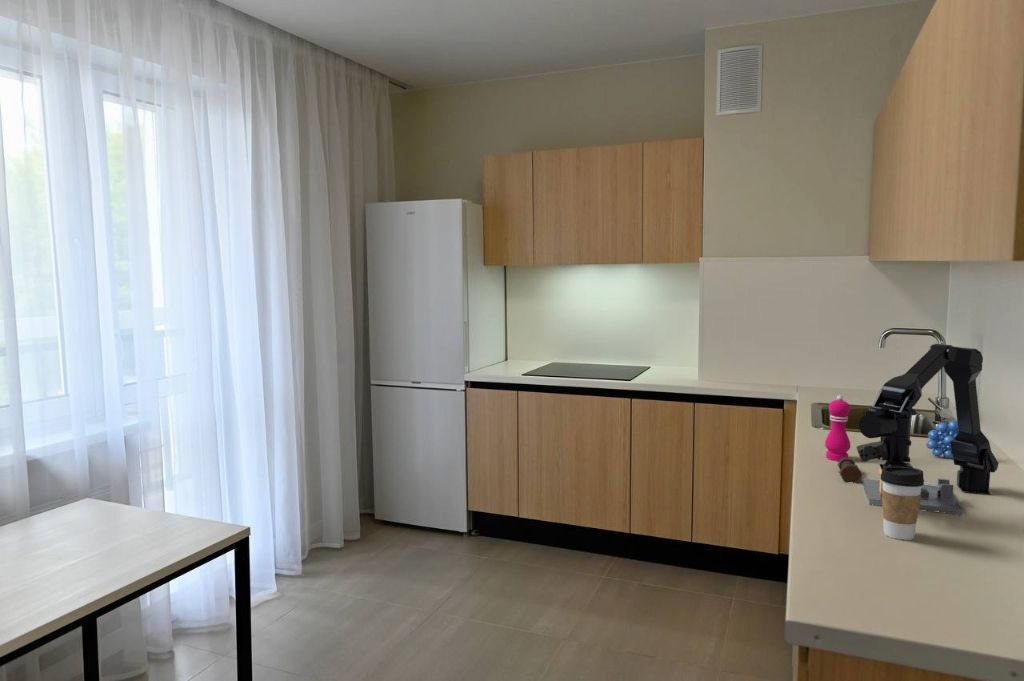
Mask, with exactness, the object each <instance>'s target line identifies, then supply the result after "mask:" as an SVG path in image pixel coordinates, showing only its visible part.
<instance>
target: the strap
mask: <svg viewBox="0 0 1024 681" xmlns="http://www.w3.org/2000/svg"><path fill="white" fill-rule="evenodd" d="M941 485H942V484H939V483H938V482H931V481H925V480H924V485H922V487H921V488H925V489H932V490H939V491H941Z"/></svg>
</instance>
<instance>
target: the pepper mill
mask: <svg viewBox="0 0 1024 681" xmlns="http://www.w3.org/2000/svg"><path fill="white" fill-rule="evenodd" d="M828 411H829V414H830V415H829V420H830V421H831V427H830V431H829V433H828V434H827V436H826V438H825V442H824V447H825V448H826V449H827V451H826V452H825V458H826V459H827V458H828V459H827V460H830V459H832V460H831V461H834V460H837V461H836V462H839V461H840V460H841V458H844V457H846V458H849V453H847V452H848V451H849V450H850V449H851V441H850V437H849V436H848V433H847V429H846V427H847V426H846V425H847V422H848V421H849V420H848V419H849V416H848V414H849V413H850V411H851V406H850V404H849V403H848V402H847V401H845V400H844V396H843V395H841V394H840V395H837V396H836V399H835V400H832V401H831V402H830V403H829V405H828Z"/></svg>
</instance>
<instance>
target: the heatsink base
mask: <svg viewBox="0 0 1024 681" xmlns="http://www.w3.org/2000/svg"><path fill="white" fill-rule="evenodd" d="M937 483H939V484H942V485H941V491H939V490H932V489H925V488H921V500H920V505H919V511H921V510H926V511H925V512H930V511H939V512H945V513H944V514H948V513H951V515H957V514H958V515H957V516H963V511H964V510H963V507H962V506H961V504H960V503H959V501H958V500H957V499H956V498H955V496H954V484H951V483H950V479H947V478H937ZM862 486H864V487H863V490H864V493H865V495H867V496H866V499H867V498H868V499H867V502H868V501H869V502H868V505H869V504H873V505H872V506H877V505H882V494H881V493H880V491H879V489H880V479H879V480H877V479H870V478H869V479H866V478H862ZM881 507H883V505H882V506H881ZM939 512H938V513H939Z"/></svg>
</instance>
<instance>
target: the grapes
mask: <svg viewBox="0 0 1024 681" xmlns="http://www.w3.org/2000/svg"><path fill="white" fill-rule="evenodd" d="M935 428H936V429H932V430H929V432H928V433H927V437H928V439H929V440H927V442H926V443H925V444H926V448H927V449H929V450H932V455H933V457H936V458H937V457H941V456H943V457H944V458H945V459H951V458H953V455H952V454H951V451H952V448H951V443H950V442H951V440H953V439H954V438H955V437H956V435H957V434H958V423H957V420H952V421H950V422H949V423H948V424H947V423H946V422H939V423H938V424H937V425H936V427H935Z"/></svg>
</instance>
